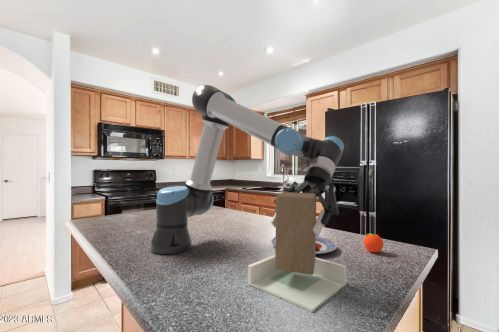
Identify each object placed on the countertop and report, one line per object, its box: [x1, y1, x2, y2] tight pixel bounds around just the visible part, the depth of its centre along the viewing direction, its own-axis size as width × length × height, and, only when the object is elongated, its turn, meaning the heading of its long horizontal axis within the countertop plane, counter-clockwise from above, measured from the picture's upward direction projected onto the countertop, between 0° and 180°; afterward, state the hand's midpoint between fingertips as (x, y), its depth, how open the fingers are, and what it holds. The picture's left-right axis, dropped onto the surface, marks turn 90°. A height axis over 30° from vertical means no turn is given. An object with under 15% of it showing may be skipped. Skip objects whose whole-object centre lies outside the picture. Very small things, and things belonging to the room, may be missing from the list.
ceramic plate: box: [270, 236, 338, 255], centre depth 101 cm, size 26×26×3 cm
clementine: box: [361, 233, 384, 254], centre depth 98 cm, size 8×7×7 cm
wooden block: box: [274, 191, 317, 275], centre depth 70 cm, size 10×10×20 cm
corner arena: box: [247, 254, 347, 313], centre depth 68 cm, size 19×19×5 cm
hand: (293, 229), depth 69 cm, fingers closed on wooden block, 13 cm apart
